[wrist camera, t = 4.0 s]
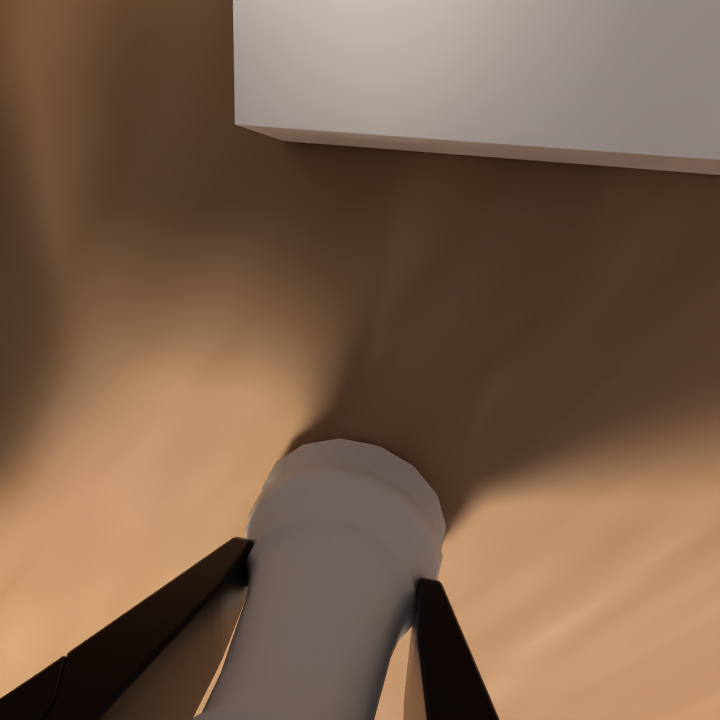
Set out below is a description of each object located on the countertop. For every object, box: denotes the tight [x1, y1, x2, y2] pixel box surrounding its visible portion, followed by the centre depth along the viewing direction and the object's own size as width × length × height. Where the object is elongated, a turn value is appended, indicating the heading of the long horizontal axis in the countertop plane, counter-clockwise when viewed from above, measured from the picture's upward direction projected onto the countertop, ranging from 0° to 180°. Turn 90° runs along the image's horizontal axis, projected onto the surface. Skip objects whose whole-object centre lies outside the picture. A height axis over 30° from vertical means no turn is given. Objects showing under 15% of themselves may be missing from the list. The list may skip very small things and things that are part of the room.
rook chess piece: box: [191, 438, 446, 720], centre depth 7 cm, size 4×4×8 cm
